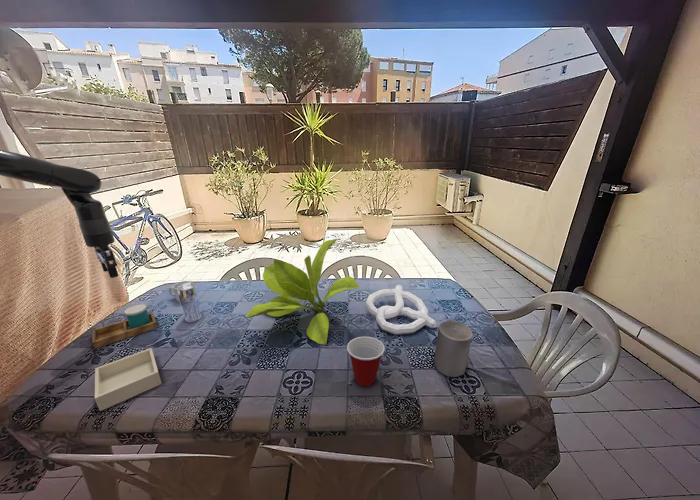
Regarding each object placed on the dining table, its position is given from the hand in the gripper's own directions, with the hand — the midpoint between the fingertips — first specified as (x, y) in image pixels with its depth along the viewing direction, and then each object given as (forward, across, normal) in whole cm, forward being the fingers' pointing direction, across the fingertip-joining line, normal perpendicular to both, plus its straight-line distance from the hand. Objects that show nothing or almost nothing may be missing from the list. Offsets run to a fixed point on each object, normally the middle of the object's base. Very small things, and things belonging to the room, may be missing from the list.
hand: (111, 273), depth 98 cm
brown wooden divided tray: (+22, +6, -2) cm, 23 cm away
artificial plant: (+23, +51, +46) cm, 72 cm away
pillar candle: (+22, +107, +56) cm, 123 cm away
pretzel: (+23, +80, +71) cm, 110 cm away
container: (+21, +7, +2) cm, 23 cm away
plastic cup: (+22, +89, +35) cm, 98 cm away
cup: (+22, -4, +22) cm, 31 cm away
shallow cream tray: (+22, +35, -8) cm, 42 cm away
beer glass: (+22, +16, +18) cm, 33 cm away
